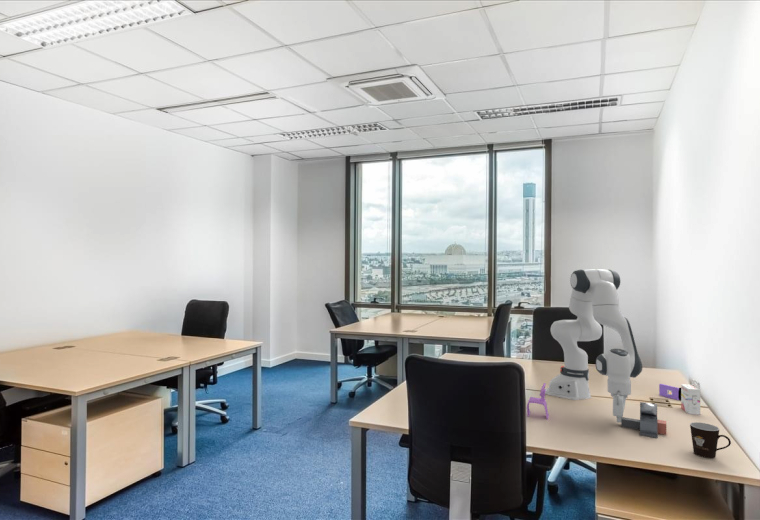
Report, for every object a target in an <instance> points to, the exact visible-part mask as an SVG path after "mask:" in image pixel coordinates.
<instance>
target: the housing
mask: <svg viewBox="0 0 760 520" xmlns="http://www.w3.org/2000/svg"><path fill="white" fill-rule="evenodd" d="M639 420H640V430H639V436H643V437H648V438H655V439H658V437H659V436H658V434H659V433H657V420H658V403H657V404H656V403H649V402H644V401H642V402H640V401H639Z"/></svg>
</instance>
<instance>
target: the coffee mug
mask: <svg viewBox="0 0 760 520" xmlns="http://www.w3.org/2000/svg"><path fill="white" fill-rule="evenodd" d="M689 427H690V433H691V434H690V435H691V444H692V451H693V454H694V455H696V456H698V457H700V458H701V457H702V458H706V459H715V458H716V456H717V451H720V450H724V449H726V448H729V447H731V446H730V445H732V444H731V443H732V442H731V438H730V437H728V436H726V435H724V434H719V433H720V428H719V427H718V426H717V425H713V424H710V423H706V422H697V421H696V422H695V421H693V422H690V423H689ZM722 437H723V438H725V439H726V440H727V441H728V444H727V445H725V446H723V447H718V440H719V439H720V438H722ZM717 447H718V448H717Z"/></svg>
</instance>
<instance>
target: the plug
mask: <svg viewBox="0 0 760 520" xmlns="http://www.w3.org/2000/svg"><path fill="white" fill-rule="evenodd" d="M620 425H621V427H622V428H628V429H632V430H639V431H640V419H636V418H630V417H624V416H623V417H622V418H621V424H620ZM657 434H660V435H667V420H663V419H657Z"/></svg>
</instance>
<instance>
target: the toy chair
mask: <svg viewBox="0 0 760 520" xmlns="http://www.w3.org/2000/svg"><path fill="white" fill-rule="evenodd" d="M545 387H546V383H545V382H544V383H543V384H542V386H541V389H540V392H539V396H540V397H533V396H529V399H528V402H527V404H526V414H527V417H530V415H531V411H530V404H537V405H538V404H539V405H542V406H543V408H544V410H545V411H544V412H545V417H546V420H548V419H549V416H550V415H549V412H548V411H549V410H548V406H547V405H548V404H547V401H546V394H545V391H546V388H545Z"/></svg>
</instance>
